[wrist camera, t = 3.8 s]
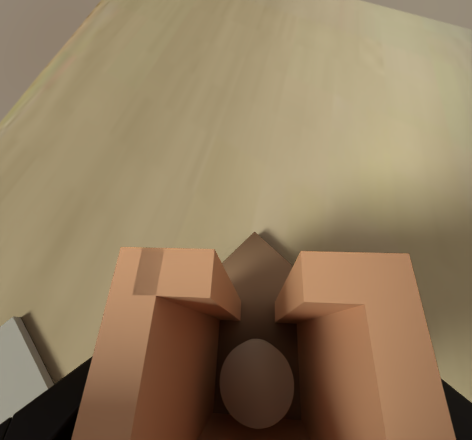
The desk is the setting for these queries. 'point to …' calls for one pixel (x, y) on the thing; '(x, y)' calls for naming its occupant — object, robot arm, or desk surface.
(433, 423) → the c link
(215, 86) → the desk surface
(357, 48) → the desk surface
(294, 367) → the stand
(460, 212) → the desk surface
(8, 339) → the mat
